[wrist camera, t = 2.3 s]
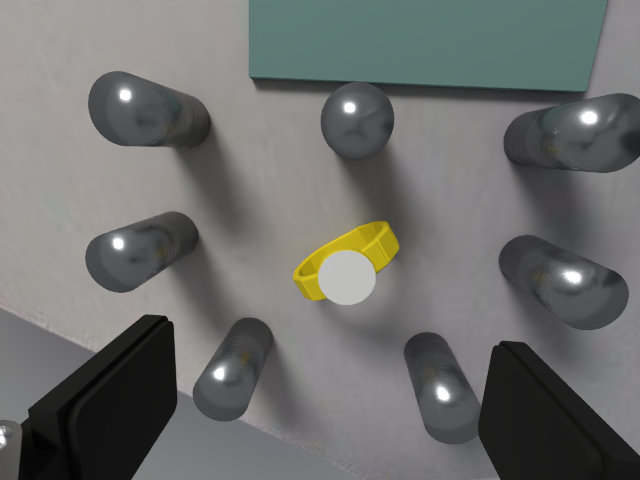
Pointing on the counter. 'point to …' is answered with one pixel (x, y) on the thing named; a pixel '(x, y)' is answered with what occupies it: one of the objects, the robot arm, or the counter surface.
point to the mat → (428, 42)
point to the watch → (347, 265)
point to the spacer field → (360, 142)
